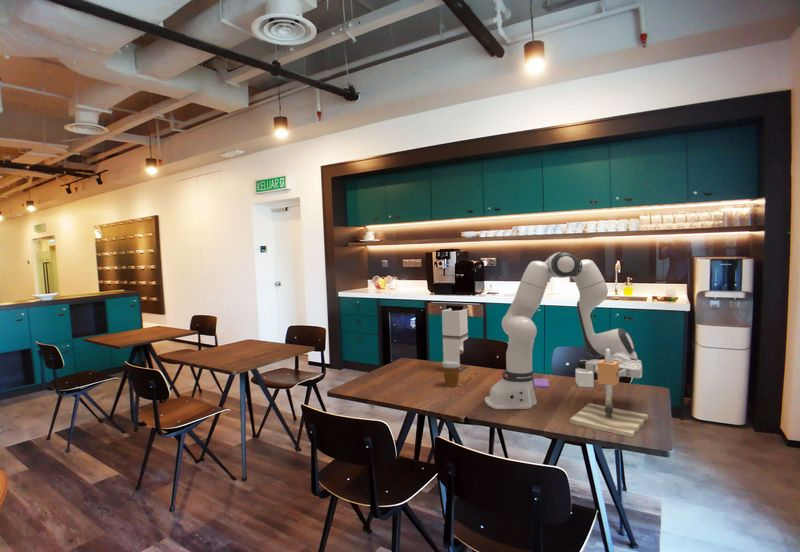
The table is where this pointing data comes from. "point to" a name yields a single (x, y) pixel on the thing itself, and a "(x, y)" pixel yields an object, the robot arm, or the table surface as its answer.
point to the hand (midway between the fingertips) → (607, 372)
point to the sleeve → (608, 372)
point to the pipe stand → (610, 420)
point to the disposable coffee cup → (451, 372)
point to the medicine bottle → (584, 375)
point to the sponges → (541, 383)
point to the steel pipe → (608, 388)
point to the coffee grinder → (454, 334)
